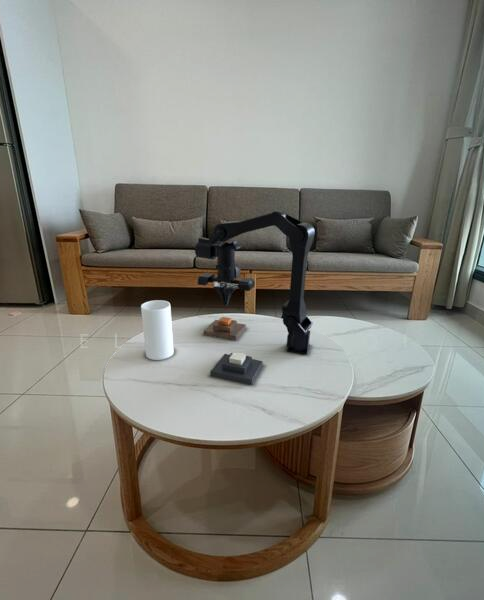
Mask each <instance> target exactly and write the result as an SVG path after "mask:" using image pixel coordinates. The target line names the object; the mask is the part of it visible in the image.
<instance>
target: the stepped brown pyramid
mask: <svg viewBox="0 0 484 600" xmlns="http://www.w3.org/2000/svg"><path fill="white" fill-rule="evenodd" d="M221 318H222V317H220V318H219V319H214V320H213V322H211V323H210V324H209V325H208V326H207V327H206V328H205V329H204V330H203V335H204V336H207V337H213V338H219V339H225V340H231V341H237V340H238V339H239V338H240V336H241V335H242V334H243V333H244V331H245V330H246V328H247V325H246V324H245V323H238V320H235V319H232V323H231V324H230V325H229V326H225V325H219V320H220V319H221Z"/></svg>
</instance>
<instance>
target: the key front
mask: <svg viewBox="0 0 484 600" xmlns="http://www.w3.org/2000/svg"><path fill="white" fill-rule="evenodd" d="M232 353H233V354H232V355H231V356H230V358H229V363H232V364H237V365H242V364H243V363H244V361H245V360H246V356H247V354H246V353H241V352H235V351H234V352H232Z"/></svg>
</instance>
